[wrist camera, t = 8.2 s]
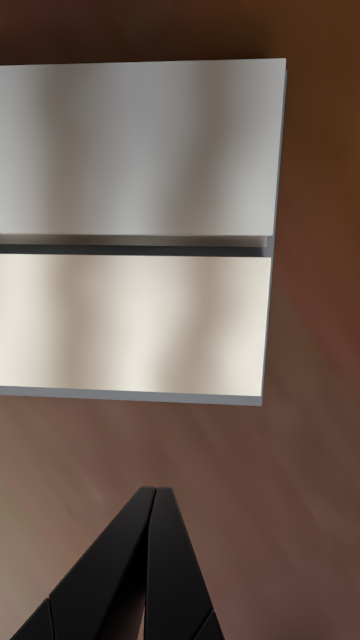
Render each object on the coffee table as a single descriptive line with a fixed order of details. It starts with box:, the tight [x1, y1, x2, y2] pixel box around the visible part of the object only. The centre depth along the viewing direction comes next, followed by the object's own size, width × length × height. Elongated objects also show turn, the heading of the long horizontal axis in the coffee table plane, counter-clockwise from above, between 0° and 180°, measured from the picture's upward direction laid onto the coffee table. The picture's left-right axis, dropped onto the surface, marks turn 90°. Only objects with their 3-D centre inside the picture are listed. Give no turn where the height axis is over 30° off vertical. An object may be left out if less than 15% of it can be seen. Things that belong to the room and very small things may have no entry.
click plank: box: [0, 253, 271, 396], centre depth 16 cm, size 18×7×2 cm, turn 89°
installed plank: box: [0, 58, 286, 247], centre depth 15 cm, size 18×8×2 cm, turn 89°
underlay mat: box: [0, 70, 287, 406], centre depth 17 cm, size 19×17×1 cm
